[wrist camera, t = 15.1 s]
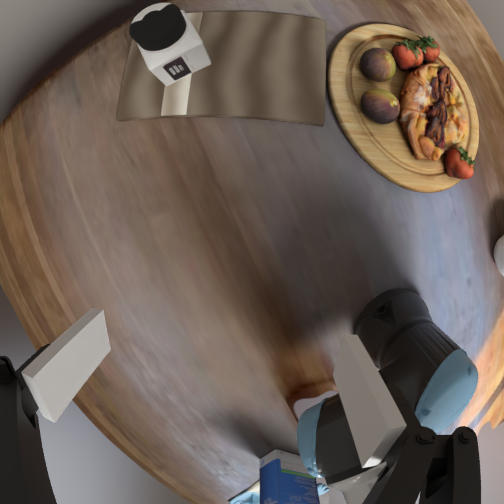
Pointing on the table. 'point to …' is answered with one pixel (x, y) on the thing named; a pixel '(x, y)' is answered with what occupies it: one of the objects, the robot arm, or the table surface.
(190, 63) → the container
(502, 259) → the lidded jar
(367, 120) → the wooden plate with food
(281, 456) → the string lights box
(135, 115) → the board
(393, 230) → the table surface
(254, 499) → the rubber gloves
